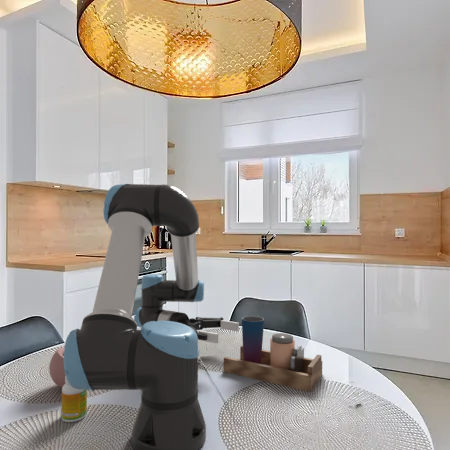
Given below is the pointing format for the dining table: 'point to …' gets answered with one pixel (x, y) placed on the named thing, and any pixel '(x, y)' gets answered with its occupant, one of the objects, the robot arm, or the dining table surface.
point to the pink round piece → (58, 368)
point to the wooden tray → (276, 371)
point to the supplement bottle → (73, 403)
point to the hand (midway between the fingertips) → (228, 332)
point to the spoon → (359, 406)
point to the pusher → (298, 359)
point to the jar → (281, 350)
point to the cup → (252, 338)
